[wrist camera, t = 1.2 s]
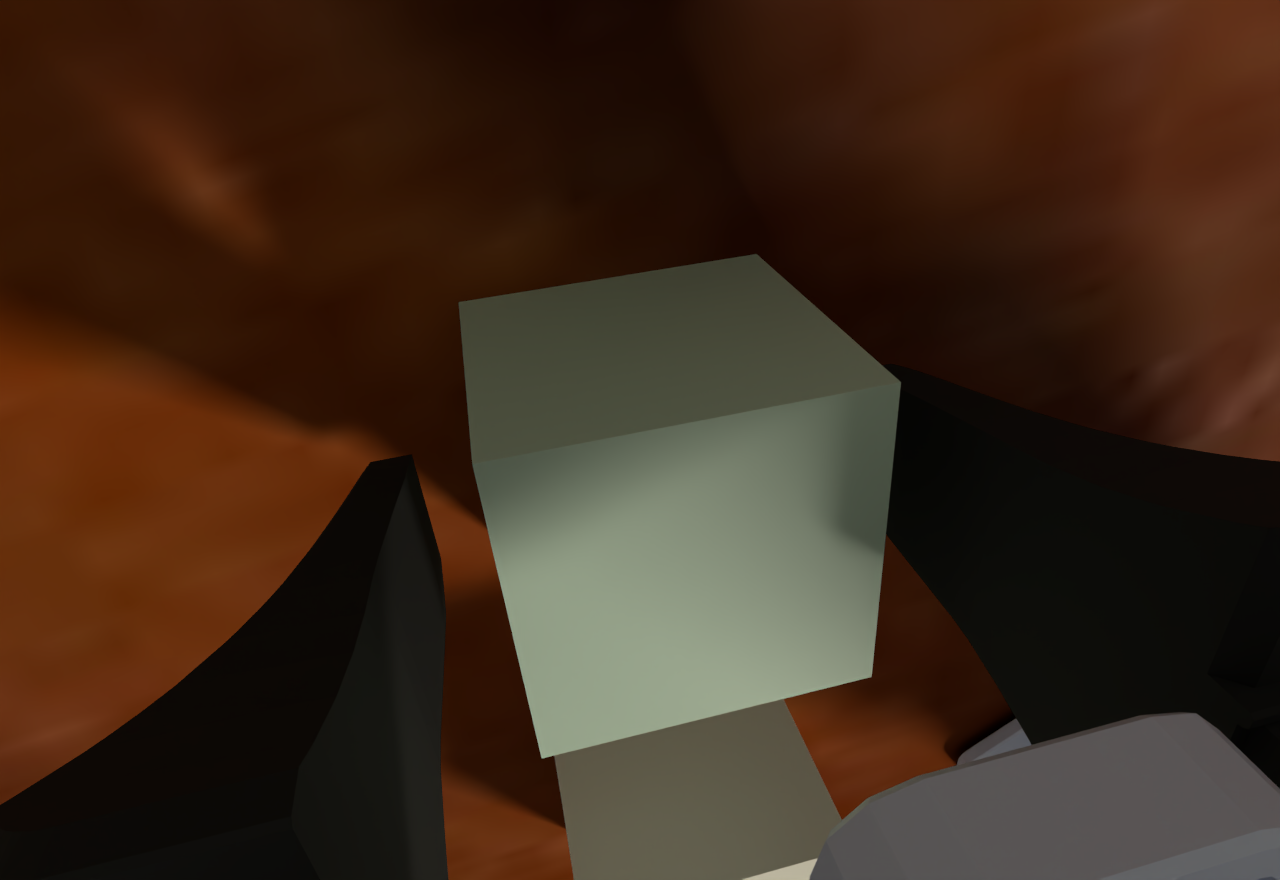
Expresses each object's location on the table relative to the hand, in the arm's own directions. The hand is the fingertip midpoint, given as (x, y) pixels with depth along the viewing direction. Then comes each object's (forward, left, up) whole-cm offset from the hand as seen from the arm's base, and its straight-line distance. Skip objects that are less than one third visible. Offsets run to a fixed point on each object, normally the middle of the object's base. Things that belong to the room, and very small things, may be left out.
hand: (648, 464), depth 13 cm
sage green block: (0, 0, -2) cm, 2 cm away
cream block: (-8, +5, -2) cm, 10 cm away
